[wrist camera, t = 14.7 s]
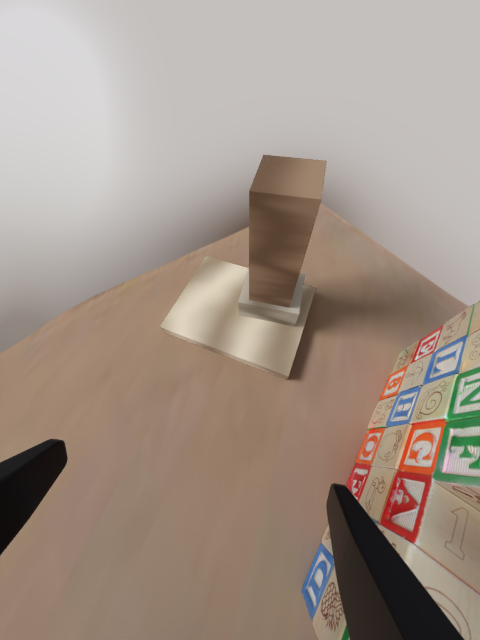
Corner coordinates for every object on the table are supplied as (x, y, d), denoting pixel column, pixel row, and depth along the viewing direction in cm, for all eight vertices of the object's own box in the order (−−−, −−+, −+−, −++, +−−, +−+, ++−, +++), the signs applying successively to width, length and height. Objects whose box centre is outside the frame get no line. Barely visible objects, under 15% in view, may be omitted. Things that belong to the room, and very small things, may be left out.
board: (313, 294, 27) (316, 287, 26) (286, 379, 22) (288, 376, 21) (207, 262, 30) (205, 255, 29) (163, 331, 25) (159, 326, 24)
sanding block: (300, 288, 26) (343, 158, 14) (294, 326, 24) (340, 207, 12) (249, 279, 27) (250, 149, 15) (238, 315, 25) (230, 194, 13)
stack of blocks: (391, 680, 14) (939, 1574, 3) (298, 589, 15) (411, 913, 5) (466, 385, 22) (682, 324, 11) (399, 349, 24) (525, 268, 13)
